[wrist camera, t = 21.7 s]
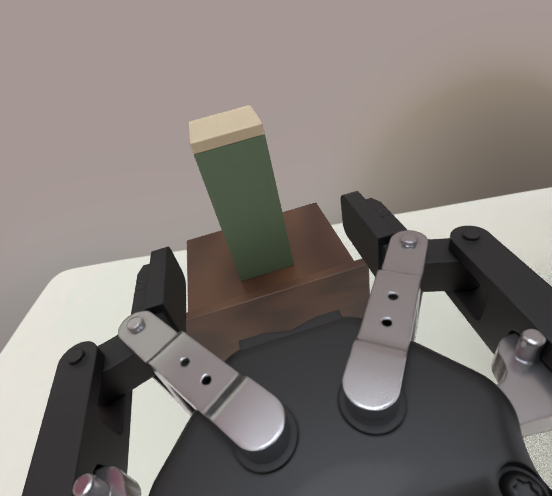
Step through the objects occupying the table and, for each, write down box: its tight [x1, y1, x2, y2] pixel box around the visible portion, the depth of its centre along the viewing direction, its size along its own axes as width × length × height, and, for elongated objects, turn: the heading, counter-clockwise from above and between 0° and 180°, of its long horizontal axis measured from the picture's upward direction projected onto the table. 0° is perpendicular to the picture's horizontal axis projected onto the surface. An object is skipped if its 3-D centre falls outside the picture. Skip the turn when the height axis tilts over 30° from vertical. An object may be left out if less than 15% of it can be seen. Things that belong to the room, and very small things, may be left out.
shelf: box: [186, 203, 370, 362], centre depth 35 cm, size 15×14×14 cm
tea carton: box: [189, 105, 294, 281], centre depth 28 cm, size 5×5×13 cm
